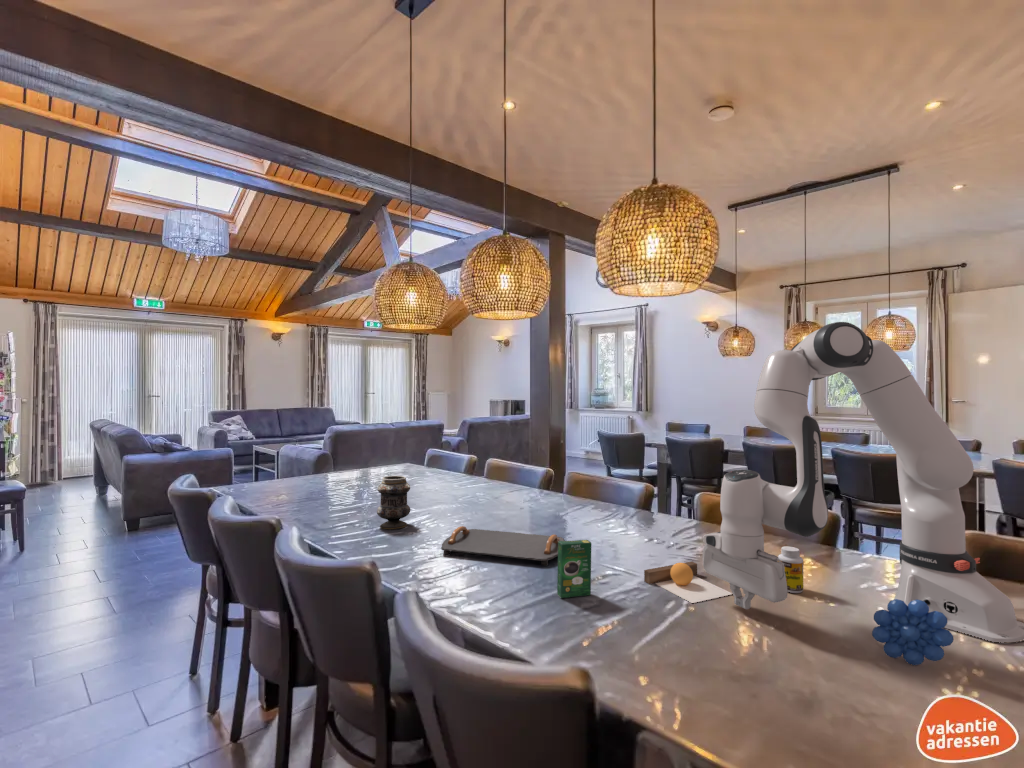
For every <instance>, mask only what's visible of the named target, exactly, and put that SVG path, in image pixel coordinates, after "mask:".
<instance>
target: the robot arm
mask: <svg viewBox="0 0 1024 768" xmlns="http://www.w3.org/2000/svg"><path fill="white" fill-rule="evenodd" d="M763 363H764V364H763V366H762V369H761V370H760V374H759V379H758V381H757V387H756V392H755V398H754V405H753V407H754V413H755V414H754V415H755V417H756V418H757V420H758V421H759V422H760V423H761V425H763V426H764V427H765V428H767V429H768V430H771V432H774V433H776V434H778V435H780V436H782V437H784V438H785V439H788V440H789V441H790V442H791V443H792V444H793V446H794V449H795V453H796V455H795V458H796V478H797V479H796V481H797V483H796V485H795V486H788V485H783V484H781V485H780V484H776V483H772V482H769V481H766V480H764V479H762V477H761V475H760V473H758V472H757V471H754V470H751V469H736V470H734V469H733V470H731V471H728V472H726V473H725V474H724V475H723V479H722V480H721V481H722V482H721V487H720V498H719V499H720V500H719V502H720V507H719V509H720V514H721V518H722V520H721V524H720V531H717V532H711V533H706V534H704V535H703V537H702V541H703V544H704V545H703V548H702V567H703V570H704V572H705V573H706V574H709V575H711V576H713V577H715V578H716V579H720V580H721V581H724V582H727V583H728V584H729V589H730V592H731V593H733V595H732V596H733V597H734V598H733V599H734V601H733V602H734V605H736V606H738V607H740V608H742V609H745V610H749V609H750V608H751V607H752V605H751V601H753V598H754V597H755V596H758V597H761V598H763V599H765V600H768V601H769V602H771V603H780V602H783V601H785V600H786V599H787V598H788V596H789V595H788V594H789V592H787V582H786V576H785V567H784V564H783V563H782V562H781V560H780V559H779V558H778V555H774V554H771V553H769V552H766V551H765V531H764V527H763V525H765V526H768V527H772V528H775V529H781V530H784V531H788V532H790V533H792V534H796V535H799V536H801V537H805V538H806V537H807V538H808V537H811V536H813V535H815V534H817V533H819V532H821V531H823V529H824V528H825V527H826V526H827V524H828V521H829V507H828V502H827V497H826V492H825V480H824V479H825V478H824V476H825V475H824V459H823V445H822V443H823V442H822V435H821V429H820V425H819V422H818V421H817V420H816V419H815V418H813V417H812V416H811V414H810V411H809V408H808V399H809V392H810V386H811V383H812V381H817V380H822V379H824V378H826V377H830V376H833V375H836V374H839V373H841V374H843V375H844V376H846V377H847V378H848V379H849V380H850V381H851V382H852V384H853V385H854V387H855V390H856V391H857V393H858V395H859V396H860V398H861V400H862V402H863V403H864V405H865V407H866V408H867V410H868V412H869V413H870V415H871V416H872V418H873V419H874V421H875V423H876V425H877V427H878V428H879V430H880V431H881V433H883V435H884V437H885V438H886V440H887V441H888V443H889V444H890V445H891V447H892V448H893V450H894V451H895V453H896V454H895V455H896V469H897V480H898V481H897V483H898V493H899V500H900V510H901V512H900V513H901V541H900V542H899V562H900V574H899V581H898V586H897V589H896V594H895V596H894V598H893V600H895V599H898V600H902V601H904V602H905V604H906V605H907V606H908V604H909V603H910V602H911V601H913V600H917V599H918V600H921V601H924V602H925V603H926V604H927V605H928V606H929V612H932V611H938V612H941V613H943V614H944V615H945V616H946V618H947V625H946V626H945V627H944V628H943V629H946V630H951V631H955V632H957V631H958V633H961V632H962V633H961V634H964V633H965V635H967V634H969V635H968V636H970V635H972V636H971V637H974V636H976V637H975V638H977V637H979V638H978V639H980V638H982V639H981V640H984V639H985V640H984V641H987V640H988V641H987V642H990V641H992V642H991V643H994V642H999V643H998V644H1005V643H1004V642H1016V641H1020V640H1023V639H1024V622H1022V621H1020V620H1019V621H1018V620H1017V616H1016V611H1015V608H1014V604H1013V602H1012V600H1011V599H1010V598H1009V596H1008V595H1006V594H1005V593H1004V592H1002V591H1001V590H1000V589H998V588H997V587H996V586H995V585H993V584H992V583H991V582H990V581H989V580H988V579H986V578H985V577H984V576H982V574H980V573H979V572H978V571H977V564H980V563H981V562H980V561H981V560H980V559H981V558H980V557H975V558H974V557H972V555H970V554H969V552H968V551H967V550H966V515H965V511H964V508H963V504H962V500H961V499H962V498H961V494H960V488H962V487H964V486H966V485H967V484H968V483H969V482H970V480H971V479H972V477H973V475H974V471H975V470H974V463H973V461H972V459H971V457H970V455H969V453H967V451H966V449H965V447H963V445H962V444H961V442H960V441H959V440H958V438H957V437H956V436H955V434H954V433H953V432H952V430H951V429H950V427H949V426H948V424H946V422H945V420H944V419H943V418H942V417H941V415H939V413H938V412H937V411H936V410H935V408H934V407H933V405H932V404H931V402H930V401H929V399H928V397H927V396H926V395H925V393H924V391H923V390H922V388H921V387H920V385H919V383H918V382H917V380H916V378H915V377H914V376H913V374H912V372H911V371H910V369H909V368H908V366H907V365H906V364H905V363H904V361H903V359H902V358H901V357H900V356H899V354H897V353H896V351H895V350H893V348H892V347H891V346H890V345H889V344H888V343H887V342H885V341H883V340H879V339H878V340H877V339H871V337H870V336H868V335H867V334H866V333H865V332H864V331H863V329H860V327H859V326H857V325H855V324H853V323H850V322H848V321H837V322H832V323H829V324H825V325H824V326H822V327H820V328H819V329H816V330H814V331H813V332H810V333H809V334H808V335H806V336H805V338H804V339H803V340H801V341H799V342H798V343H797V344H795V345H794V346H793V347H792V348H791V349H790V350H789V349H782V350H781V349H780V350H776V351H774V352H772V353H769V355H768V356H767V357H766V359H765V361H764V362H763ZM778 561H779V562H778ZM741 589H742V591H743V592H742V591H741ZM742 594H744V596H743V595H742ZM929 612H928V613H929ZM1023 641H1024V640H1023ZM1000 642H1001V643H1000ZM1020 642H1021V641H1020ZM1016 643H1017V642H1016Z"/></svg>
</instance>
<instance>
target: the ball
mask: <svg viewBox="0 0 1024 768" xmlns="http://www.w3.org/2000/svg"><path fill="white" fill-rule="evenodd" d="M685 563H686V562H677V563H675V564H672V565H673V566H672V568H671V571H670V574H671V578H672V580H673V581H674V582H675V583H676V584H678V585H682V586H684V585H688V584H689V583H690V582H691V581H692V579H693V572H692V569H691V568H690V567H689V566H688V565H687V564H685Z"/></svg>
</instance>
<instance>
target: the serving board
mask: <svg viewBox="0 0 1024 768" xmlns="http://www.w3.org/2000/svg"><path fill="white" fill-rule="evenodd" d="M558 541H566V540H565V539H564V538H563V537H561V536H558V535H557V534H551V535H545V534H544V535H543V534H533V533H522V532H512V531H501V530H488V529H479V528H478V529H477V528H469V529H468V528H467V527H466V526H463V525H462V526H458V527H457V528H455V529H454V530H453V532H452V533H451V535H450V536H449V537H447V538H445V540H443V542H442V544H441V548H440V549H441V550H442V551H443V555H445V556H449V555H451V552H456V553H466V554H475V555H482V556H483V555H485V556H491V557H494V556H495V557H501V558H502V557H503V558H511V559H520V560H530V561H537V562H538V561H539V562H540V566H544V567H545V566H548V565H549V561H550V560H554V558H556V557H557V558H558Z"/></svg>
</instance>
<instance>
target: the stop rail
mask: <svg viewBox="0 0 1024 768" xmlns="http://www.w3.org/2000/svg"><path fill="white" fill-rule="evenodd" d="M684 563H685V564H687V565H688V566H689V567H690V568H691V569H692V572H693V576H698V563H696V562H694V561H687V562H684ZM673 565H674V564H671V565H665V566H664V565H663V566H659V567H654V568H649V569H644V570H643V577H644V578H643V579H644V583H647V584H648V585H652V584H653V585H654V584H655V583H660V582H665V581H670V580H672V578H671V574H670V571H671V568H672V566H673Z"/></svg>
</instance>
